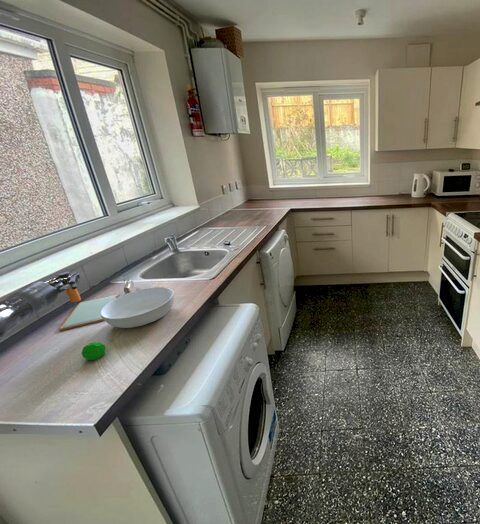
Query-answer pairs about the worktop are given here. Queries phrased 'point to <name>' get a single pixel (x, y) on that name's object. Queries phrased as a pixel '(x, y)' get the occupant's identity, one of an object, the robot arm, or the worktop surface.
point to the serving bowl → (138, 307)
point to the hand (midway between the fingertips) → (71, 275)
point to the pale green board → (87, 313)
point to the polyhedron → (93, 351)
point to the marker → (70, 292)
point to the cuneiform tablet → (129, 286)
